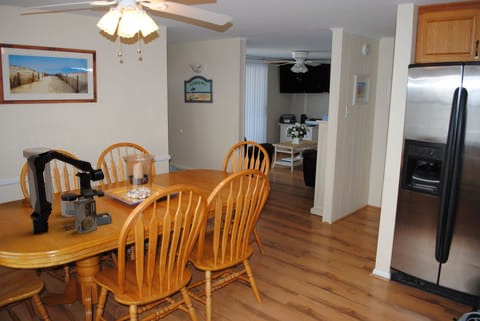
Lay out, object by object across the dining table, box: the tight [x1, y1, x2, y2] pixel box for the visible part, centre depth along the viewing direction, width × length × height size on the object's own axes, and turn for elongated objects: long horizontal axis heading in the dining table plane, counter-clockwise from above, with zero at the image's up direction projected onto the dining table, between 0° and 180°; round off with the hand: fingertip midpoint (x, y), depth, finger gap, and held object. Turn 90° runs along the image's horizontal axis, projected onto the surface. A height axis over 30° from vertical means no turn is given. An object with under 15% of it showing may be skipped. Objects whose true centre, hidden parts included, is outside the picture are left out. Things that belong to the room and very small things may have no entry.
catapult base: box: [63, 223, 76, 231], centre depth 205 cm, size 15×6×6 cm, turn 124°
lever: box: [65, 209, 75, 217], centre depth 208 cm, size 14×13×2 cm
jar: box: [60, 192, 78, 218], centre depth 222 cm, size 9×8×12 cm
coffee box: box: [74, 198, 98, 235], centre depth 199 cm, size 9×6×16 cm
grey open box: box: [96, 211, 113, 227], centre depth 212 cm, size 8×8×4 cm
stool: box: [22, 147, 54, 209], centre depth 237 cm, size 16×16×35 cm
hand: (86, 210), depth 215 cm, fingers closed
